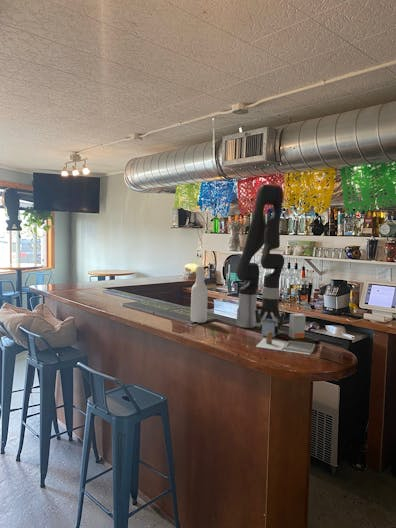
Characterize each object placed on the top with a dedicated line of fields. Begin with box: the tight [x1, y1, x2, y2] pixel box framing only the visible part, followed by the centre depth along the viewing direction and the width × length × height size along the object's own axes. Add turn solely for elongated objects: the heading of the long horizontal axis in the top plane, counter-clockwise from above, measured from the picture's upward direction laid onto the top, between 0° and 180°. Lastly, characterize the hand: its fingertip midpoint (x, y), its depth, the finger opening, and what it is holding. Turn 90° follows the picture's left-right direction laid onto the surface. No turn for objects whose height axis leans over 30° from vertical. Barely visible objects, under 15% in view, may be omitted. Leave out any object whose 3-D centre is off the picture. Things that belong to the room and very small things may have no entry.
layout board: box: [255, 331, 316, 356], centre depth 168 cm, size 23×15×6 cm, turn 67°
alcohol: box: [190, 265, 209, 324], centre depth 214 cm, size 9×9×30 cm
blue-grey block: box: [261, 319, 277, 338], centre depth 184 cm, size 6×6×7 cm
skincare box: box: [288, 313, 307, 339], centre depth 183 cm, size 6×4×12 cm
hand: (269, 332), depth 184 cm, fingers closed on blue-grey block, 5 cm apart
